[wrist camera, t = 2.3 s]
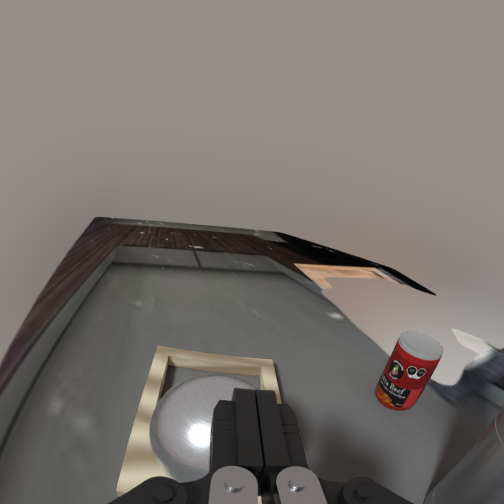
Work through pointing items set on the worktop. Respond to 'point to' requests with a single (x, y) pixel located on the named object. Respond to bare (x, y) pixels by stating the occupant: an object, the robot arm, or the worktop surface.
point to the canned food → (408, 370)
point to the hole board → (139, 448)
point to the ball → (189, 424)
